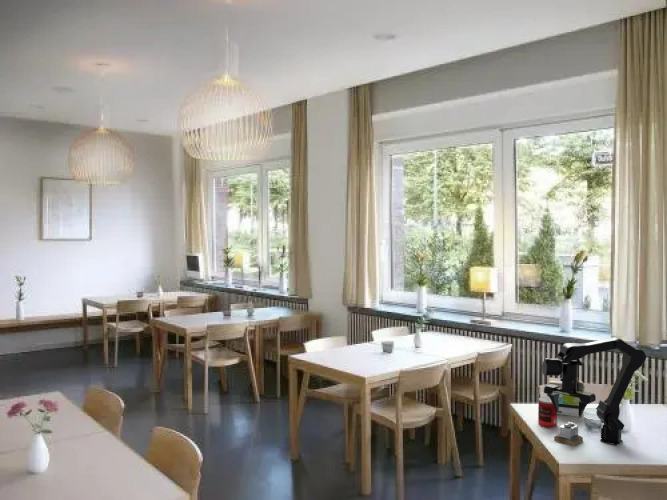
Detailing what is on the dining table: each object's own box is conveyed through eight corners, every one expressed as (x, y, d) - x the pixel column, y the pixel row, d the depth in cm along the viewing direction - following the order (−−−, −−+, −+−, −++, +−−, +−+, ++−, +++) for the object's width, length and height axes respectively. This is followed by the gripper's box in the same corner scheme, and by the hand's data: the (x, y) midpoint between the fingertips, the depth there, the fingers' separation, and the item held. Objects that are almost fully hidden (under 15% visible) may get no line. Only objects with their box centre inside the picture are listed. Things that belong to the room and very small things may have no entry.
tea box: (548, 414, 261) (549, 382, 261) (546, 407, 271) (547, 376, 271) (583, 417, 257) (584, 385, 257) (581, 410, 267) (582, 379, 266)
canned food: (554, 421, 251) (554, 397, 250) (559, 428, 243) (559, 402, 243) (536, 421, 252) (536, 396, 251) (540, 427, 244) (541, 401, 243)
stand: (582, 441, 228) (582, 436, 228) (573, 446, 223) (574, 441, 223) (563, 435, 234) (563, 430, 234) (554, 440, 229) (554, 435, 229)
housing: (578, 435, 229) (578, 422, 229) (570, 439, 224) (570, 426, 224) (567, 432, 232) (567, 420, 232) (559, 436, 228) (559, 424, 227)
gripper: (601, 377, 226) (600, 416, 227) (556, 368, 240) (555, 405, 240) (590, 382, 219) (588, 422, 219) (543, 372, 232) (542, 410, 233)
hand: (568, 414), depth 228 cm, fingers open, 9 cm apart
